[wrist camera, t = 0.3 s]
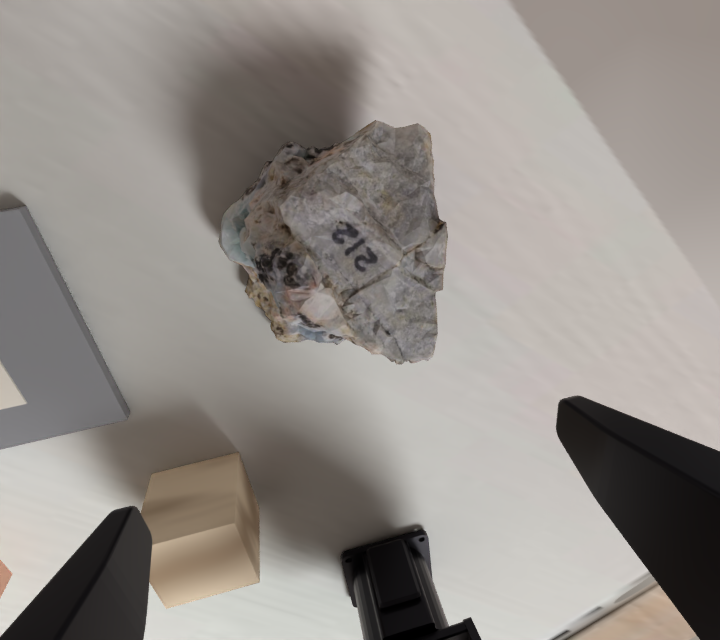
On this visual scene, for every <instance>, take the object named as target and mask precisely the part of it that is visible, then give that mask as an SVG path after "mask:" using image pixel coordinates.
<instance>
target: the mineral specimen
mask: <svg viewBox="0 0 720 640" xmlns="http://www.w3.org/2000/svg"><path fill="white" fill-rule="evenodd" d="M431 149H432V141H431V135H430V133H429V132H428V131H427V130H426V129H425V128H424V127H423V126H421V125H420V124H418V123H417V124H414V125H410V126H406V127H400V128H394V127H392V126H389V125H387V124H385V123H383V122H380V121H376V120H375V121H374V122H372V123H370V124H368V125H367V126H366V127H364V128H363V129H361V130H360V131H359V132H357V133H356V134H355V135H353V136H352V137H350V138H349V139H347V140H346V141H344V142H343V143H341V144H340V143H334V144H333V146H332V147H331V148H328V147H325V148H322V149H320V150H318V149H317V148H315V147H313V146H312V147H310V148H308V149H307V150H306V149H304V148H303V147H302V146H301V145H299V144H297V143H295V142H287V143H286V144H284V145H283V146H282V147H281V149H280V150H279V152H278V153H277V155H276V157H275V158H274V160H273V161H267V162H266V164H265V165H264V167H263V169H262V171H261V174H260V176H259V178H258V180H257V181H256V182H255V183H254V184H253V185H252V186H251V187H249V188H248V189H247V190H246V192H245V193H244V194H243V196H242V197H241V198H240V200H239V201H237V202H235V203H233V204H232V205H231V206H230V207H229V208H228V210H227V211H226V212H225V213H224V215H223V218H222V221H221V232H220V236H219V241H218V242H219V244H220V246H221V248H222V250H223V251H224V253H225V254H226V256H227V257H228V259H229V260H231V261H233V262H235V263H238V264H240V265H242V266H243V267H244V269H245V270H246V271H247V273H248V274H249V277H248V282H247V286H246V290H245V292H246V293H247V295H248V296H249V298H254V301H255V305H256V306H258V307H259V308H261V309H262V310H264V311H265V315H266V316H267V317H268V318H269V319H270V320H271V330H272V331H273V332H274V334H275V336H276V339H278V340H280V341H282V342H284V343H286V342H301V341H303V340H315V341H316V342H319V343H335V344H336V345H338V344H339V343H341V342H342V341H343V340H345V339H347V340H349V341H351V342H352V343H354V344H356V345H358V346H362V347H364V348H365V349H367V350H368V351H370V352H371V354H382V355H384V356H386V357H387V358H388V359H389V360H390V361H391V362H393V361H395V363H396V364H403V363H404V362H407V361H409V362H410V363H416V362H419V361H421V360H427V361H428V360H429V359H430V358H432V356H433V353H434V350H435V343H436V338H437V334H438V333H437V307H436V299H435V293H436V292H437V291H440V290H443V273H444V268H445V264H446V247H447V238H448V234H447V226H446V222H443V221H442V220H440V219H439V216H438V211H437V205H436V200H435V197H434V180H435V179H434V174H433V165H434V160H433V156H432V152H431Z"/></svg>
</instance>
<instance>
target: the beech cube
mask: <svg viewBox="0 0 720 640" xmlns="http://www.w3.org/2000/svg"><path fill="white" fill-rule="evenodd" d="M141 515H142V517H143V519H144V521H145V522H146V524H147V526H148V528H149V530H150V532H151V535H152V555H151V567H150V580H149V582H150V584H151V585H152V587H153V589H154V590H155V592H156V593H157V595H158V597H159V598H160V600H161V601H162V603H163V605H164V606H165V608H166V609H167V608H171V607H174V606H178V605H181V604H185V603H188V602H192V601H195V600H199V599H203V598H206V597H210V596H213V595H217V594H220V593H224V592H227V591H231V590H234V589H238V588H241V587H245V586H248V585H252V584H255V583H259V582H260V558H259V506H258V503H257V500H256V498H255V495H254V492H253V490H252V487H251V484H250V482H249V479H248V476H247V473H246V471H245V468H244V465H243V463H242V460H241V457H240V455H239V452H237V453H233V454H229V455H225V456H221V457H217V458H213V459H209V460H205V461H201V462H197V463H193V464H189V465H185V466H181V467H177V468H173V469H169V470H165V471H161V472H157V473H153V474H152V475H151V478H150V482H149V485H148V489H147V492H146V496H145V499H144V503H143V507H142V510H141Z"/></svg>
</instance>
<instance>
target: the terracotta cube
mask: <svg viewBox="0 0 720 640" xmlns="http://www.w3.org/2000/svg"><path fill="white" fill-rule="evenodd" d="M11 576H12V573H11V572H10V571H9V569H8V568H7V567H6V566H5V565H4V564H3V563H2V561H1V560H0V597H1V596H2V594H3V592H4V590H5V588H6V586H7V584H8V582H9V580H10V578H11Z"/></svg>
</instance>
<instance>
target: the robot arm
mask: <svg viewBox="0 0 720 640" xmlns="http://www.w3.org/2000/svg"><path fill="white" fill-rule="evenodd" d="M556 431H557V435H558V437H559V439H560V441H561V443H562V445H563V446H564V448H565V449H566V451H567V453H568V454H569V456H570V458H571V459H572V461H573V463H574V464H575V466H576V468H577V469H578V471H579V473H580V474H581V476H582V478H583V479H584V481H585V483H586V484H587V486H588V488H589V489H590V491H591V492H592V494H593V496H594V497H595V499H596V500H597V502H598V503H599V504H600V506H601V507H602V509H603V510H604V511H605V513H606V514H607V515H608V517H609V518H610V519H611V521H612V522H613V523H614V525H615V526H616V527H617V529H618V530H619V531H620V533H621V534H622V536H623V537H624V538H625V540H626V541H627V542H628V544H629V545H630V546H631V548H632V549H633V550H634V552H635V553H636V554H637V556H638V557H639V558H640V560H641V561H642V562H643V564H644V565H645V566H646V568H647V569H648V570H649V572H650V573H651V574H652V576H653V577H654V578H655V580H656V581H657V582H658V584H659V585H660V586H661V588H662V589H663V590H664V592H665V593H666V595H667V596H668V597H669V599H670V600H671V601H672V603H673V604H674V605H675V607H676V608H677V609H678V611H679V612H680V613H681V615H682V616H683V617H684V619H685V620H686V621H687V623H688V624H689V625H690V627H691V628H692V629H693V631H694V632H695V633H696V635H697V636H698V637H699V639H700V640H720V451H717V450H715V449H712V448H710V447H707V446H705V445H702V444H700V443H697V442H695V441H692V440H690V439H687V438H685V437H682V436H680V435H677V434H675V433H672V432H670V431H667V430H665V429H662V428H660V427H657V426H655V425H652V424H650V423H647V422H645V421H642V420H640V419H637V418H635V417H632V416H629V415H627V414H624V413H622V412H619V411H617V410H614V409H612V408H609V407H607V406H604V405H602V404H599V403H597V402H594V401H592V400H589V399H587V398H584V397H582V396H572V397H568V398H564V399H562V400H560V402H559V404H558V413H557V423H556ZM151 555H152V535H151V532H150V530H149V528H148V526H147V524H146V522H145V521H144V519H143V517H142V515H141V513H140V511H139V510H138V508H137V507H135V506H129V507H124V508H120V509H116V510H114V511H112V512H111V513H110V514H109V515H108V516H107V517H106V518H105V519H104V520H103V521H102V522H101V524H100V525H99V526H98V527H97V528H96V529H95V530H94V532H93V533H92V534H91V535H90V536H89V537H88V538H87V539H86V541H85V542H84V543H83V544H82V545H81V546H80V547H79V548H78V550H77V551H76V552H75V553H74V554H73V555H72V556H71V558H70V559H69V560H68V561H67V562H66V563H65V564H64V565H63V567H62V568H61V569H60V570H59V571H58V572H57V573H56V575H55V576H54V577H53V578H52V579H51V580H50V581H49V582H48V584H47V585H46V586H45V587H44V588H43V589H42V590H41V591H40V593H39V594H38V595H37V596H36V597H35V598H34V599H33V601H32V602H31V603H30V604H29V605H28V606H27V607H26V608H25V610H24V611H23V612H22V613H21V614H20V615H19V616H18V617H17V619H16V620H15V621H14V622H13V623H12V624H11V625H10V627H9V628H8V629H7V630H6V631H5V632H4V633H3V634H2V636H1V637H0V640H143V638H144V631H145V625H146V616H147V604H148V592H149V580H150V567H151ZM341 561H342V565H343V569H344V573H345V577H346V581H347V585H348V589H349V592H350V596H351V600H352V604H353V606H354V607H357V608H358V613H359V618H360V623H361V628H362V634H363V639H364V640H481V638H480V636H479V634H478V632H477V629H476V627H475V625H474V623H473V621H472V619H471V617H470V618H467V619H464V620H463V622H460V623H458V624H455V625H452V626H449V625H448V622H447V620H446V617H445V614H444V611H443V608H442V606H441V603H440V600H439V597H438V594H437V592H436V589H435V586H434V583H433V581H432V571H431V561H430V551H429V541H428V536H427V533H426V531H424V530H420V531H416V532H413V533H409V534H406V535H402V536H398V537H395V538H391V539H388V540H384V541H381V542H377V543H374V544H370V545H367V546H363V547H360V548H356V549H353V550H349V551H346V552H344V553H342V555H341Z"/></svg>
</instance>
